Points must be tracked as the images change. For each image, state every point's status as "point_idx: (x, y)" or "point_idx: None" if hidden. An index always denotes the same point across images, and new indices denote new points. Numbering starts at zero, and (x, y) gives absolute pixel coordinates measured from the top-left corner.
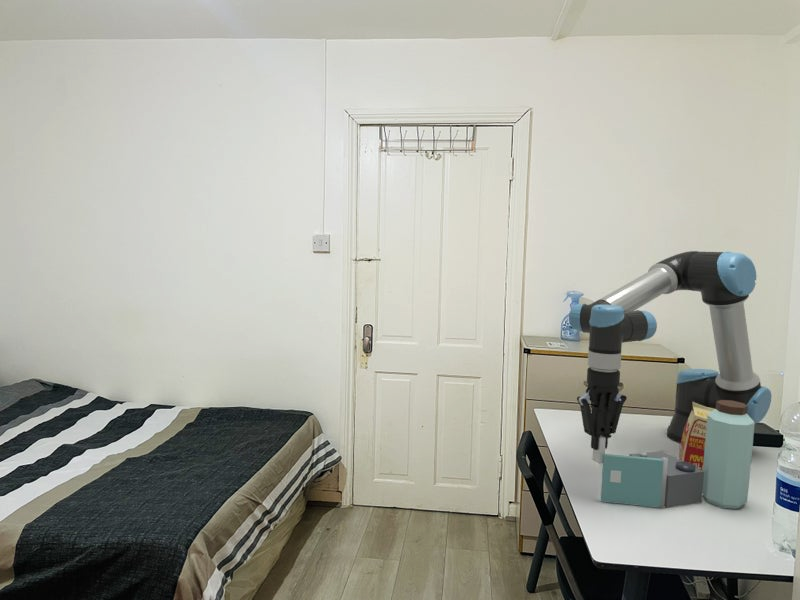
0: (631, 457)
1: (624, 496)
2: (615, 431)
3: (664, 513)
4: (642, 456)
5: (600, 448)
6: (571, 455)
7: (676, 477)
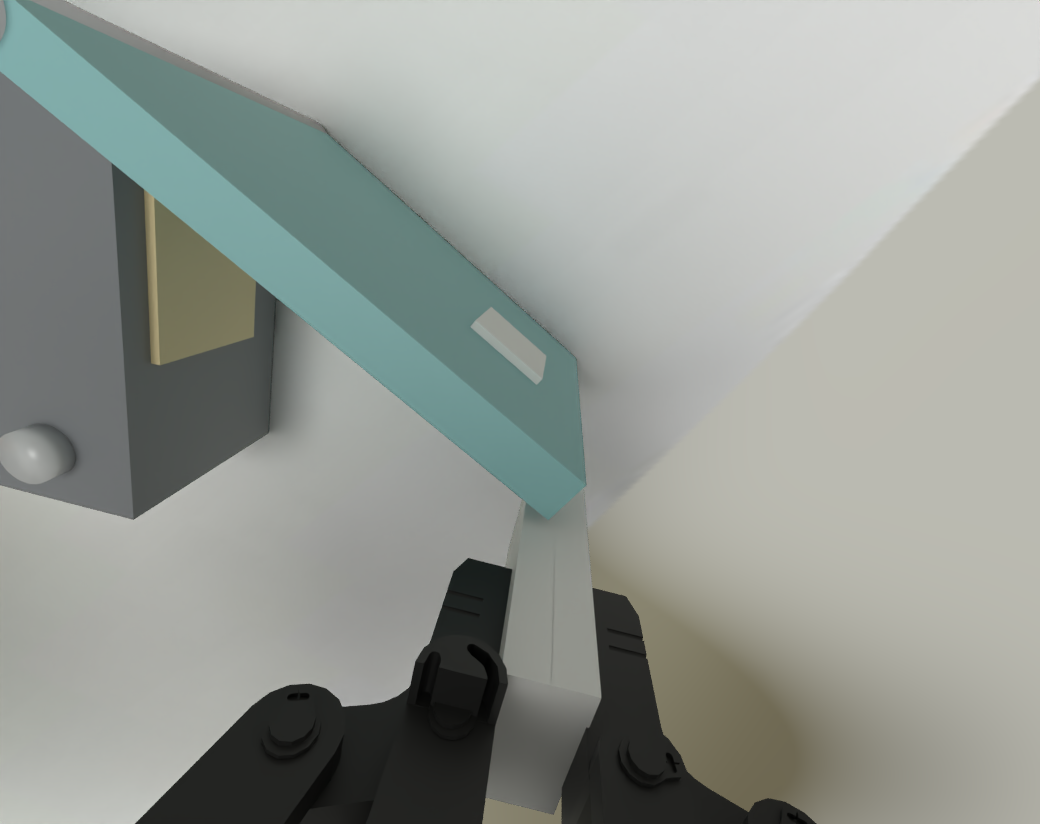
0: (337, 292)
1: (477, 279)
2: (250, 713)
3: (353, 75)
4: (64, 443)
5: (585, 576)
6: None
7: None
